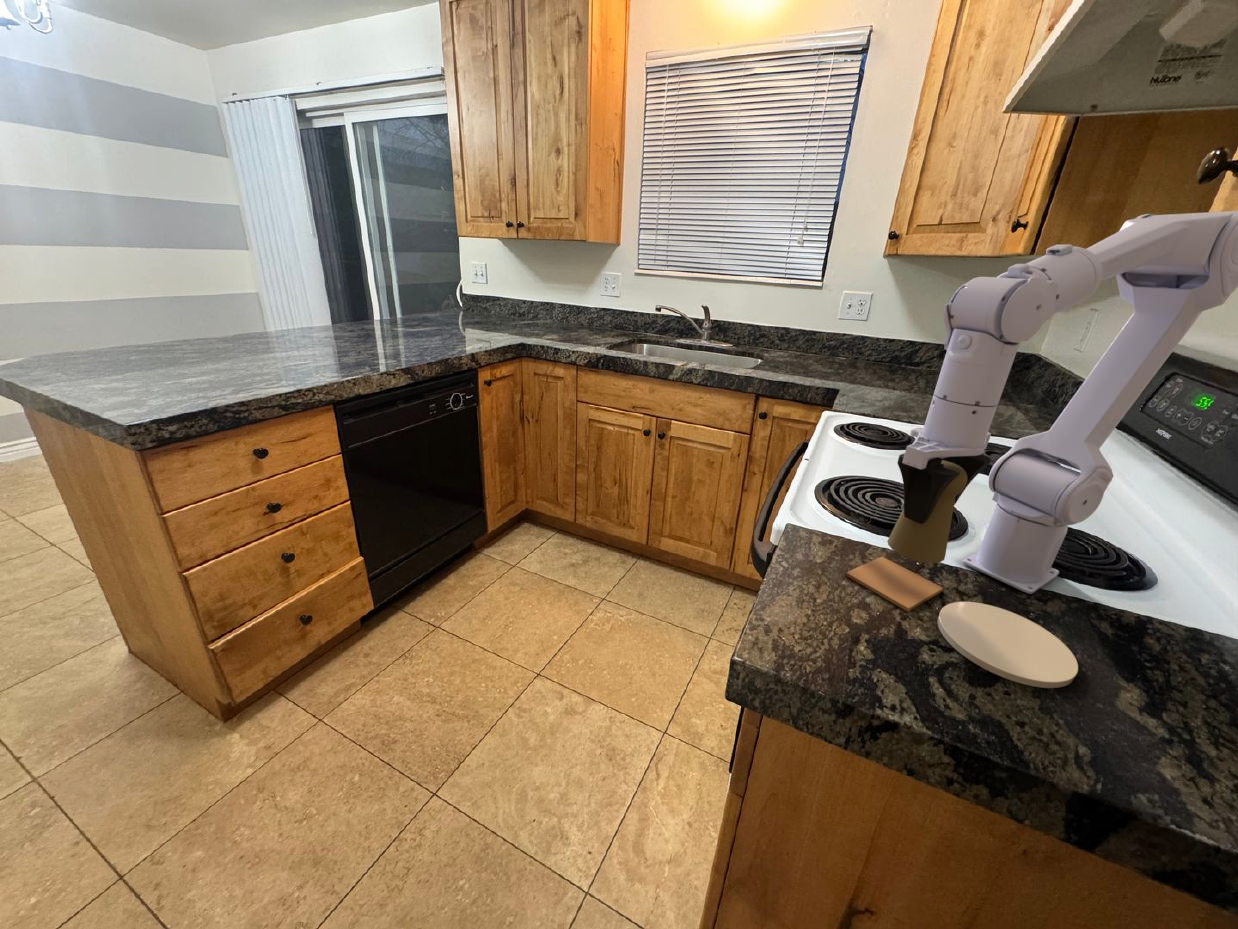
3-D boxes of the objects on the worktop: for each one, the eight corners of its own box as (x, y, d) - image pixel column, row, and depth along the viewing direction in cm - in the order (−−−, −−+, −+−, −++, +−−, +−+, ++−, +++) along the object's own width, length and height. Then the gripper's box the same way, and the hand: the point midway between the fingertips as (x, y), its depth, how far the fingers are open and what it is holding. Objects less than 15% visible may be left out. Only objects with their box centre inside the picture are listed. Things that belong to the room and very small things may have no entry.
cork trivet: (880, 559, 67) (881, 556, 67) (942, 591, 61) (943, 588, 61) (845, 575, 63) (846, 572, 63) (907, 612, 57) (908, 608, 56)
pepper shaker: (953, 566, 56) (987, 477, 51) (896, 558, 57) (924, 469, 52) (933, 539, 61) (961, 456, 57) (881, 532, 62) (905, 450, 58)
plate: (967, 595, 60) (969, 590, 60) (1093, 659, 51) (1096, 653, 51) (915, 628, 54) (917, 622, 54) (1048, 707, 45) (1051, 701, 45)
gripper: (957, 385, 59) (924, 489, 64) (889, 396, 51) (858, 513, 56) (1027, 400, 53) (984, 512, 58) (963, 414, 46) (920, 542, 51)
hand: (926, 514), depth 57 cm, fingers closed on pepper shaker, 5 cm apart
